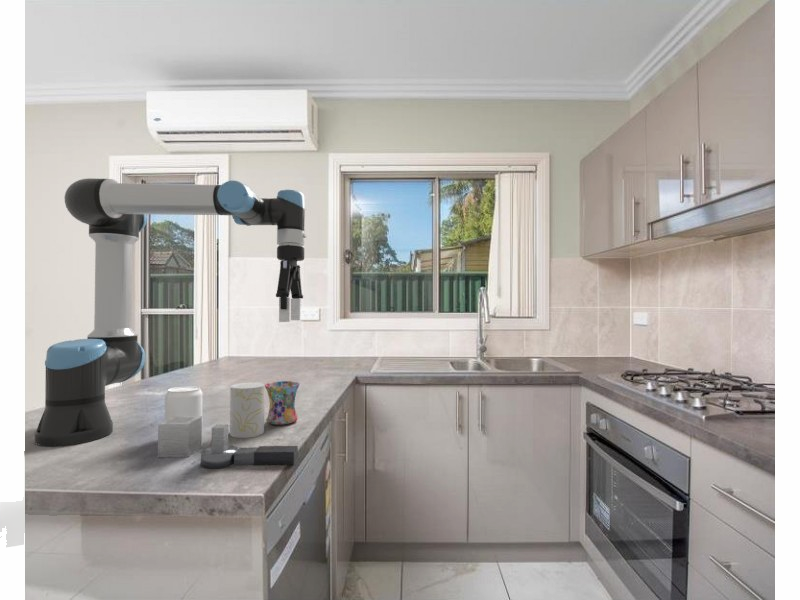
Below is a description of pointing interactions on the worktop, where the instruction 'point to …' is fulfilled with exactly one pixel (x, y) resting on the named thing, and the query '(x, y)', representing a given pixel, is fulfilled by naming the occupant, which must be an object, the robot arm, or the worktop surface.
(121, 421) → the worktop surface
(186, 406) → the beverage can
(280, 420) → the mug
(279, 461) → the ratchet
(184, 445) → the brushed cube with inset
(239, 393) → the cup
